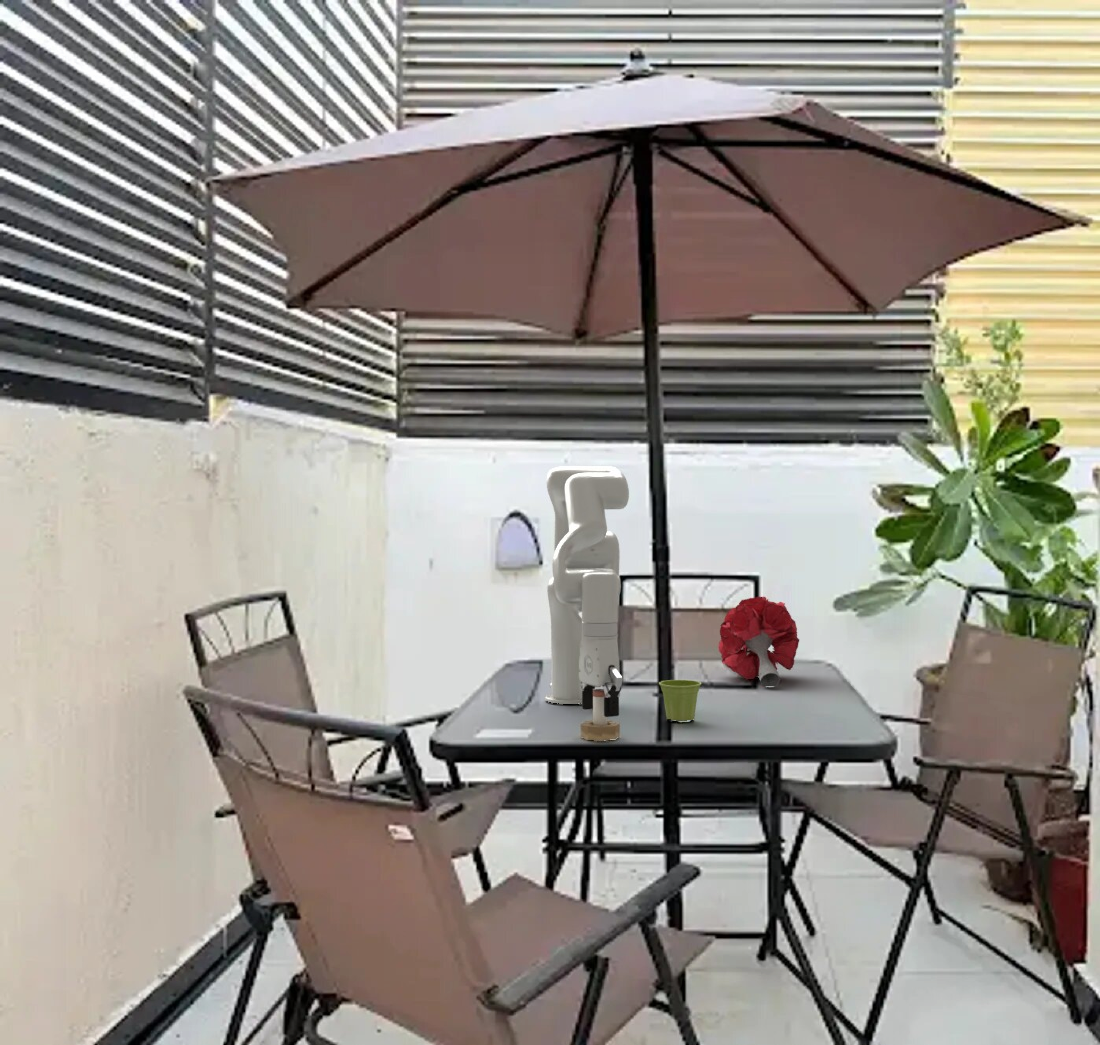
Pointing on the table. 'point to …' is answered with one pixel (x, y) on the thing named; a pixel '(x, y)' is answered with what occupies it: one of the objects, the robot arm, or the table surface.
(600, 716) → the pink-tipped cream rod
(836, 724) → the table surface
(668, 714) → the plant pot
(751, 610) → the bouquet
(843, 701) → the table surface
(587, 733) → the bead
